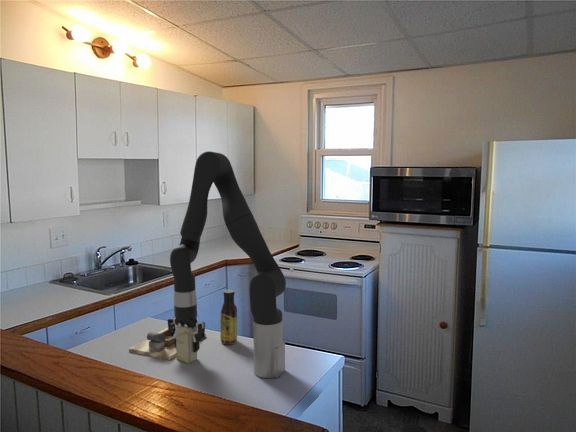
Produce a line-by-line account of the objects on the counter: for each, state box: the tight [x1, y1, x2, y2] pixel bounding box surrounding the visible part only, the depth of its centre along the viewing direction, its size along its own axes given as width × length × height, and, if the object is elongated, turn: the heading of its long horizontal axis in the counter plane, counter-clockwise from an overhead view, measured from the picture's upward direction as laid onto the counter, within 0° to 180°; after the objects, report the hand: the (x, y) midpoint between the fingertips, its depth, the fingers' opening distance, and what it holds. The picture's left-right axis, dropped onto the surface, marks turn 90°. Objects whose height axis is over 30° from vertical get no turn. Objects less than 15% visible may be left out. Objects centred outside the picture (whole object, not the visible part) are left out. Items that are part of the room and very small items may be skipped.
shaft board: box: [128, 323, 207, 361], centre depth 167 cm, size 18×22×7 cm
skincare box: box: [175, 324, 198, 364], centre depth 154 cm, size 6×4×12 cm
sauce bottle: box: [219, 289, 238, 346], centre depth 168 cm, size 6×6×20 cm
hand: (187, 349), depth 155 cm, fingers closed on skincare box, 6 cm apart
